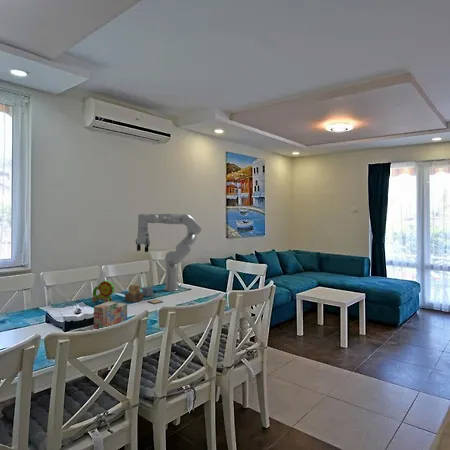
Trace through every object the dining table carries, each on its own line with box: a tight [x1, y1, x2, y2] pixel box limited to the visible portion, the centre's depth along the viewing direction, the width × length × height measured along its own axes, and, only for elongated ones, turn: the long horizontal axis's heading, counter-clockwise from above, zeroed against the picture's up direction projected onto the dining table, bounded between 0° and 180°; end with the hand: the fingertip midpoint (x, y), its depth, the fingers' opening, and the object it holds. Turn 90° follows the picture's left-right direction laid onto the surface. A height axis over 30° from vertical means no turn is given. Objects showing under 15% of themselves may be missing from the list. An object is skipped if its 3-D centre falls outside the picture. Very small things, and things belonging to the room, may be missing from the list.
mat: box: [147, 299, 164, 305], centre depth 255 cm, size 8×8×1 cm
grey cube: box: [141, 286, 154, 297], centre depth 274 cm, size 6×6×6 cm
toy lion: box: [91, 280, 115, 303], centre depth 252 cm, size 16×5×15 cm, turn 74°
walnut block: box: [124, 292, 144, 303], centre depth 259 cm, size 9×9×5 cm
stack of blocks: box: [93, 301, 128, 329], centre depth 205 cm, size 21×6×12 cm, turn 158°
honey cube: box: [128, 284, 141, 295], centre depth 259 cm, size 6×6×6 cm
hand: (142, 251), depth 284 cm, fingers open, 9 cm apart
